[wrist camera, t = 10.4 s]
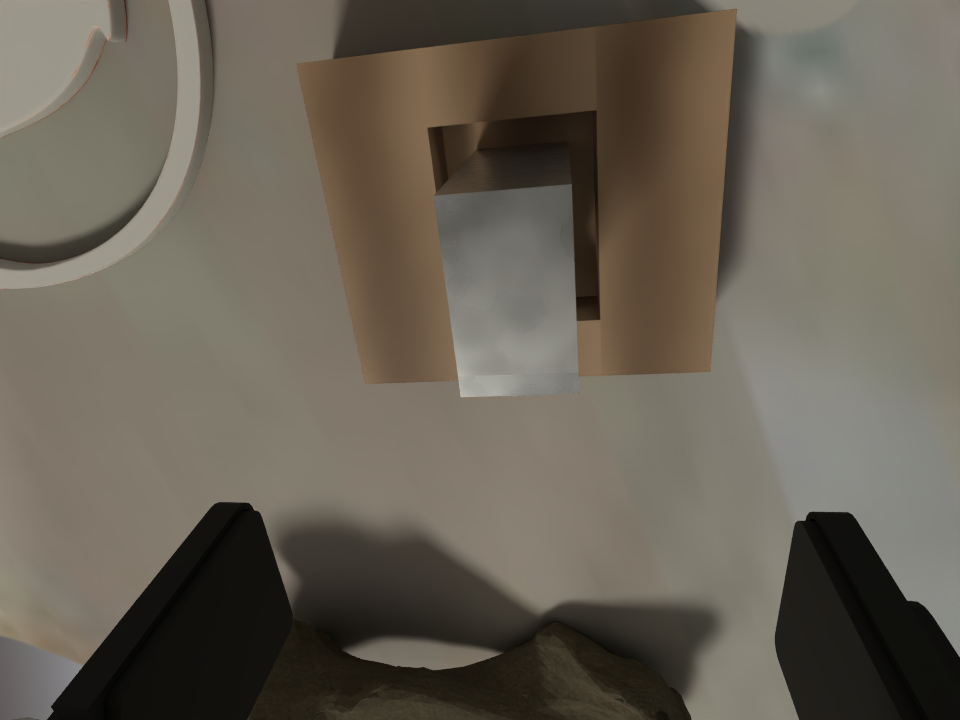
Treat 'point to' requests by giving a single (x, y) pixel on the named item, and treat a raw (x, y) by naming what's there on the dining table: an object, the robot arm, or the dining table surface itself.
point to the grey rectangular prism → (511, 270)
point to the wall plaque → (61, 74)
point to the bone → (465, 684)
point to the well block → (594, 175)
